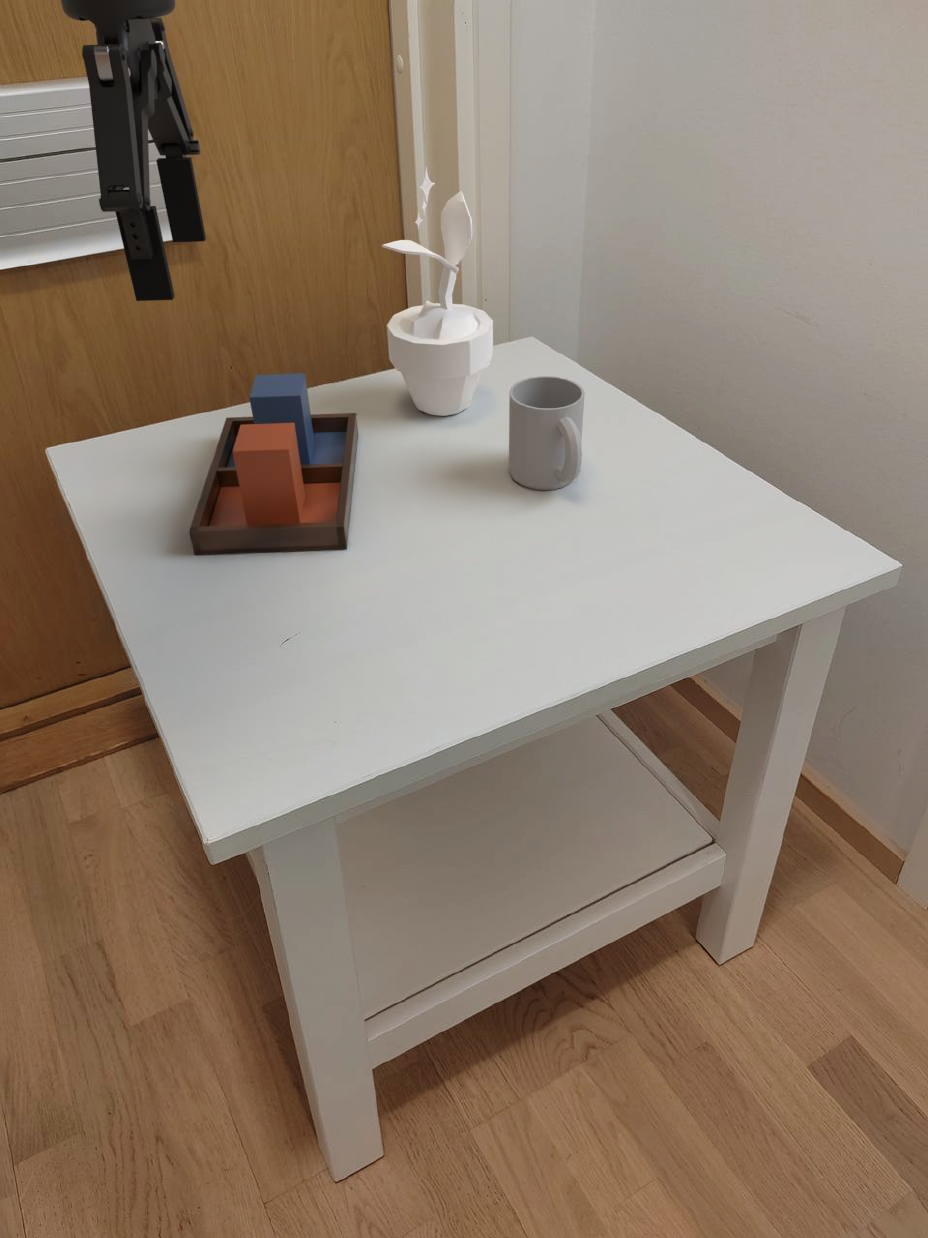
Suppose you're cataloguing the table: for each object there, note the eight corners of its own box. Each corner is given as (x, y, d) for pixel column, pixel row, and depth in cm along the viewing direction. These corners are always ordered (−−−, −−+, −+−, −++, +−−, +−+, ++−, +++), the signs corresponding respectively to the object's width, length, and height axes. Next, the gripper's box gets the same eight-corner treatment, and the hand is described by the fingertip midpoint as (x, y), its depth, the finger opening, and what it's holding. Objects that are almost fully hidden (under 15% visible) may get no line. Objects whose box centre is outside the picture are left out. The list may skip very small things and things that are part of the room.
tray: (194, 555, 88) (188, 531, 86) (230, 438, 105) (226, 417, 103) (346, 549, 88) (344, 525, 86) (358, 434, 105) (355, 412, 103)
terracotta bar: (247, 526, 90) (232, 451, 85) (254, 497, 94) (240, 424, 88) (300, 524, 90) (288, 448, 85) (305, 496, 94) (294, 422, 89)
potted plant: (456, 373, 116) (450, 151, 100) (513, 409, 109) (516, 175, 93) (366, 402, 111) (344, 171, 95) (418, 441, 103) (405, 198, 87)
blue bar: (261, 468, 98) (249, 397, 93) (267, 444, 102) (255, 374, 97) (310, 466, 98) (300, 395, 93) (314, 443, 102) (305, 372, 97)
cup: (557, 449, 101) (561, 370, 96) (606, 494, 94) (613, 412, 89) (496, 464, 99) (496, 384, 93) (542, 511, 92) (545, 428, 86)
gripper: (118, -38, 54) (191, 326, 67) (197, -69, 73) (242, 219, 87) (-16, -35, 54) (84, 329, 67) (99, -67, 73) (159, 221, 86)
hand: (173, 268), depth 77 cm, fingers open, 13 cm apart
